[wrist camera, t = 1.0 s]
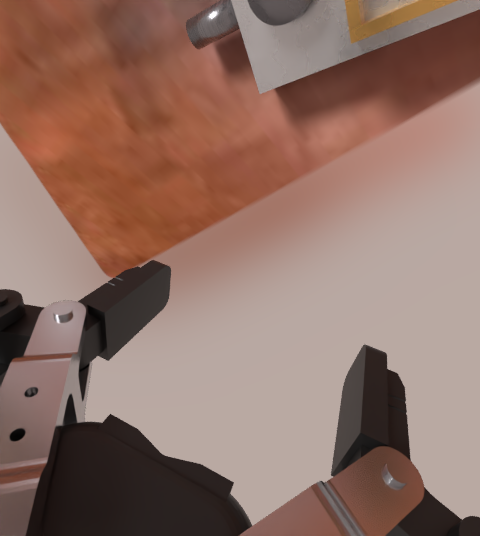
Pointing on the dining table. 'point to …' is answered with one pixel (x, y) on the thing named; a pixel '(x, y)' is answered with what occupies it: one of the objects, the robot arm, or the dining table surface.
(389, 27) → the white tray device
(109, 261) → the dining table surface
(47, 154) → the dining table surface
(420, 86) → the dining table surface
